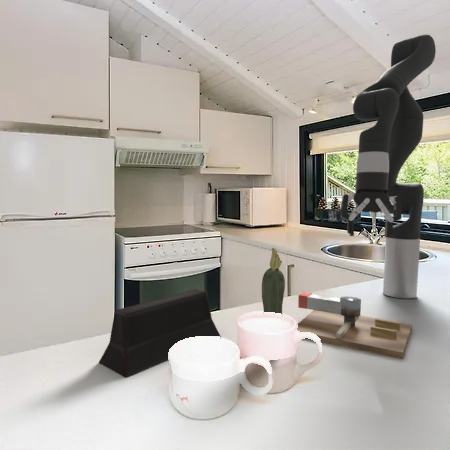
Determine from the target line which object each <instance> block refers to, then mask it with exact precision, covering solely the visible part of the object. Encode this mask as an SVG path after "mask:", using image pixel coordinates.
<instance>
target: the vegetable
mask: <svg viewBox="0 0 450 450" xmlns="http://www.w3.org/2000/svg"><path fill="white" fill-rule="evenodd" d="M271 250H272V251H271V257H270V260H269V268H267V269H266V271H265V272H264V273H263V275H262V279H261V280H262V281H261V299H262V305H263V306H262V307H263V313H264V312H275V313H281V314H282V315H283V304H284V296H285V288H286V280H285V279H286V278H285V275H284V273H283V272H282V271H281V270H280V267H281V266H282V261H281V257H280V255H279V253H278V250H277V249H276V248H274V247H272V248H271Z"/></svg>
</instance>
